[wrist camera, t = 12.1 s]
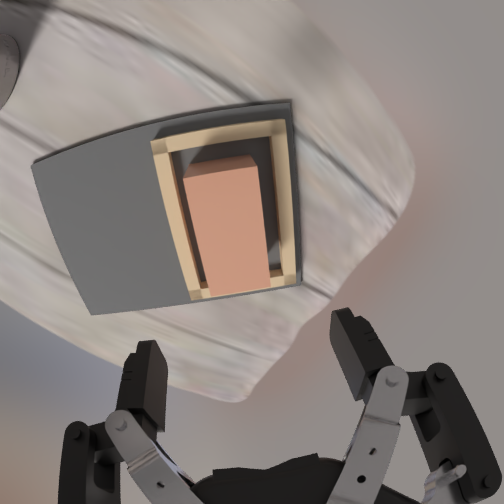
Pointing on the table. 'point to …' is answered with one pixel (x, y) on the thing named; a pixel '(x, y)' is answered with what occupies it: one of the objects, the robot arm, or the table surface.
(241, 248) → the terracotta block
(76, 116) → the table surface
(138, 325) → the table surface
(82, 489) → the robot arm
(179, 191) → the mat
